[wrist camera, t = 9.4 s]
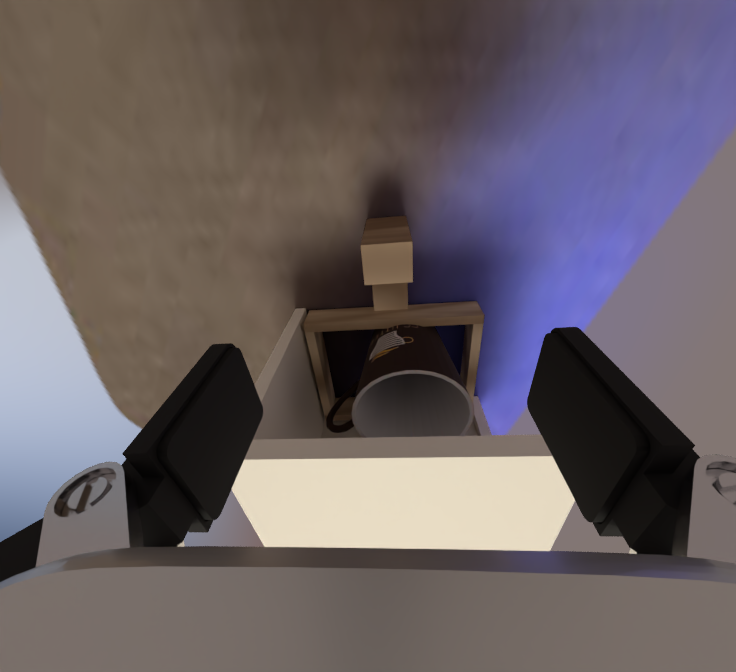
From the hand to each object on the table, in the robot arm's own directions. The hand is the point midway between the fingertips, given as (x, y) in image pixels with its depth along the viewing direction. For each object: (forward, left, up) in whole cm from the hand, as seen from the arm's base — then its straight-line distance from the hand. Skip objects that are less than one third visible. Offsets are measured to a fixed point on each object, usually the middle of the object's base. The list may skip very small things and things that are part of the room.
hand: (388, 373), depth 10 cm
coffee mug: (+11, 0, -18) cm, 21 cm away
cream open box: (+13, 0, -18) cm, 22 cm away
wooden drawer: (+9, 0, -17) cm, 19 cm away
